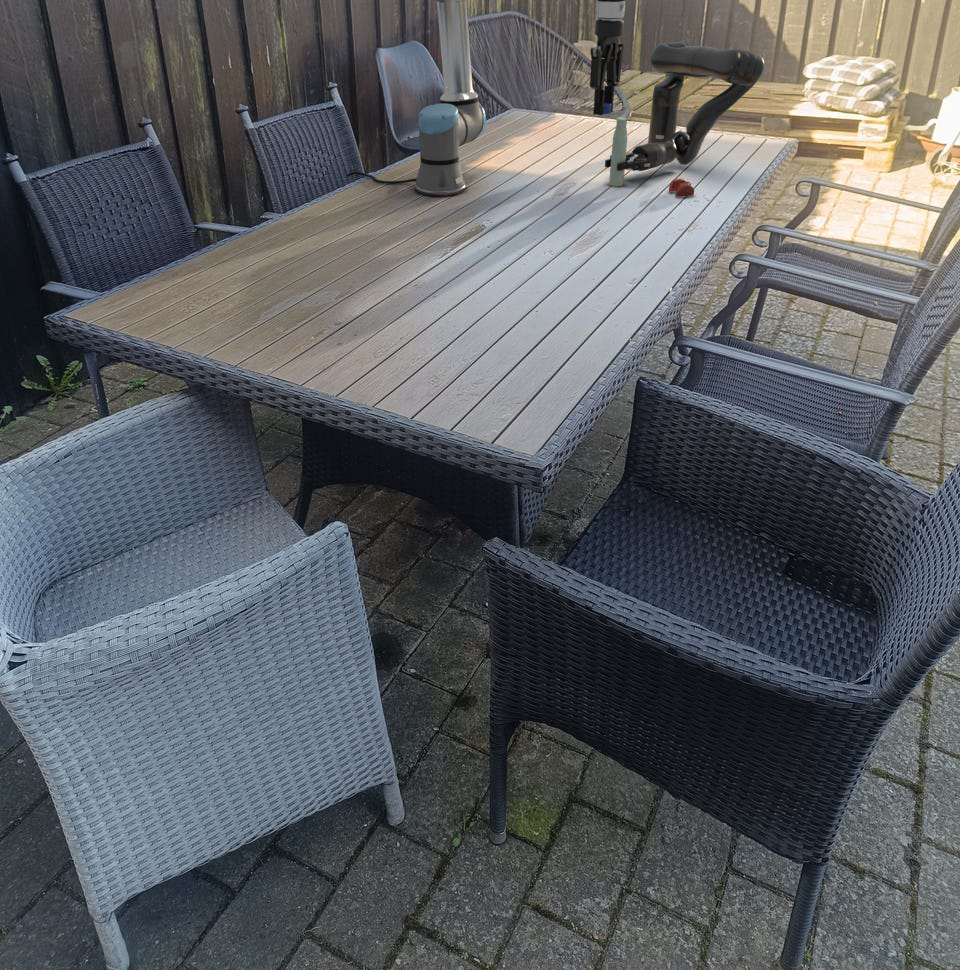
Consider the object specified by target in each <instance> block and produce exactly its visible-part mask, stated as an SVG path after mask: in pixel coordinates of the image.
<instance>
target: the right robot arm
mask: <svg viewBox="0 0 960 970" xmlns="http://www.w3.org/2000/svg"><path fill="white" fill-rule="evenodd" d="M650 63H651V66H652V69H653V71H655V72H656V73H658V74H663V75H664V74H667V75H666V77H664V79H663V80H662V81H659V82H658V83H656V84H655V85H654V86H653V93H652V103H651V111H650V118H649V119H650V120H649V128H648V129H649V131H648V137H647V138H648V139H647V143H645V144H642V145H637V146H635V147H634V148H633V149H632V151H630V152H626V160H625V162H621V163H618V164H617V171H622V170H624V171H625V170H626V171H630V170H631V171H632V172H643V171H647V170H651V169H655V168H658V167H660V166H663V165H667V164H670V163H672V162H674V161H675V159H676V161H677V162H678V163H679V164H680V165H682V166H686V165H689V164H691V163H692V162H694V160H695V159H696V158H697V156H698V154H699V152H700V150H701V147H702V145H703V143H704V140H705V138H706V137H707V135H708V134H709V132H711V130H712V129H713V127H714V126H715V125H716V123H717V122H718V121H719V120H720V119H721V117H723V115H724V114H725V113H726V112H728V110H729V109H731V108H732V107H733V106H734V105H735V104H736V103H737V102H738V101H740V99H742V97H744V96H745V94H747V93H748V92H749V91H750V90H751V89H752V88H753V87H754V86H755V85H756V84H757V83H758V81H759V80H760V79H761V77H762V75H763V72H764V68H765V60H764V58H763V57H762V56H761V55H760V54H758V53H755V52H752V51H749V50H745V49H741V48H730V49H718V48H716V47H713V46H706V45H692V46H691V45H690V46H687V45H686V43H684V42H682V41H676V42H675V41H673V42H662V43H659V44H658V45H656V46H655V47H654V49H653V50H652V52H651V54H650ZM685 77H690V78H692V79H698V80H709V79H712V78H717V79H719V80H722V81H724V82H726V83H729V84H730V85H729V86H728V87H727V88H726V89H725V90H724V91H722V92H721V93H719V94H717V95H715V96H714V97H712V98H711V99H708V100H706V102H705V103H703V104H702V105H701V106H700V107H699V108H698V109H697V110H696V112H695V113H694V114H693V116H692V117H690V119H689V121H688V122H687V123H686V127H685V128H686V131H681V130H678V131H677V124H678V117H679V116H678V115H679V108H680V101H681V92H682V89H683V87H684V82H685ZM611 155H612V154H610V155H609V158H608V159H605V161H604V168H607V169H608V168H610V167H611Z"/></svg>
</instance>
